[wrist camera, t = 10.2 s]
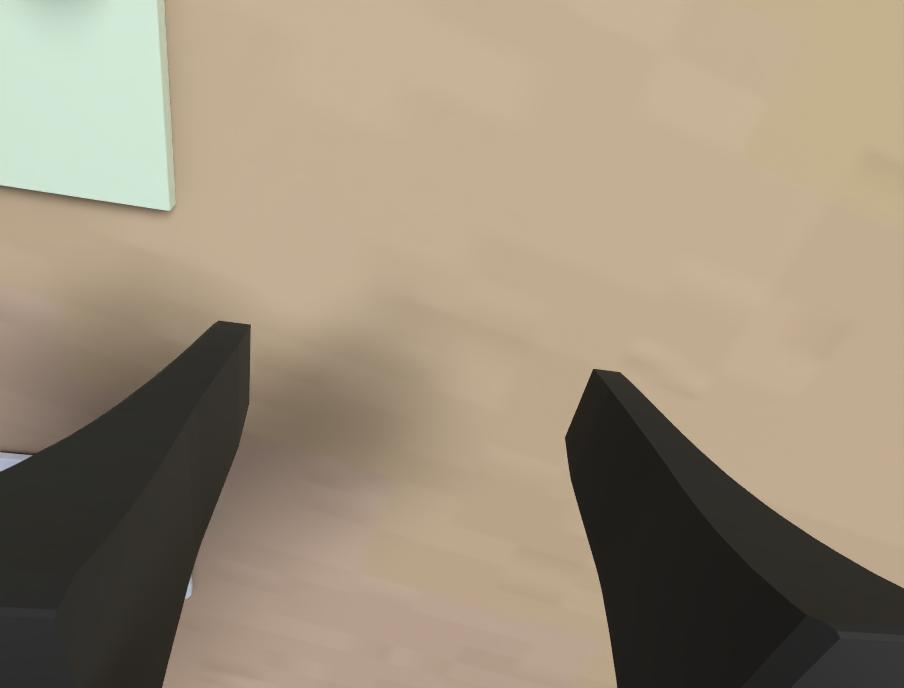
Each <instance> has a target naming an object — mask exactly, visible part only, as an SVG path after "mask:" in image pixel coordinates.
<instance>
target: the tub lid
mask: <svg viewBox="0 0 904 688" xmlns="http://www.w3.org/2000/svg"><path fill="white" fill-rule="evenodd" d="M0 185H3V186H10V187H16V188H23V189H29V190H36V191H42V192H49V193H55V194H62V195H68V196H75V197H81V198H88V199H94V200H101V201H108V202H114V203H121V204H127V205H134V206H140V207H147V208H153V209H160V210H166V211H170V210H171V209H172V208H173V206H174V205H175V204H176V201H175V183H174V165H173V148H172V130H171V112H170V94H169V77H168V59H167V41H166V23H165V5H164V0H0Z"/></svg>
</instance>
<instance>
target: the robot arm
mask: <svg viewBox="0 0 904 688" xmlns="http://www.w3.org/2000/svg"><path fill="white" fill-rule="evenodd" d="M250 328H251V325H248V324H241V323H233V322H225V321H218V322H216V323H215V324H213V325H212V326H211V327H210V328H209V329H208V330H207V331H206V332H205V333H204V334H203V335H201V336H200V337H199V338H198V339H197V340H196V341H195V342H194V343H193V344H192V345H191V346H190V347H189V348H187V349H186V350H185V351H184V352H183V353H182V354H181V355H180V356H178V357H177V358H176V359H175V360H174V361H173V362H171V363H170V364H169V365H168V366H167V367H166V368H164V369H163V370H162V371H161V372H160V373H158V374H157V375H156V376H155V377H154V378H152V379H151V380H150V381H149V382H147V383H146V384H145V385H143V386H142V387H141V388H139V389H138V390H137V391H135V392H134V393H133V394H131V395H130V396H129V397H127V398H126V399H125V400H123V401H122V402H121V403H119V404H118V405H117V406H115V407H114V408H112V409H111V410H109V411H108V412H106V413H105V414H104V415H102V416H101V417H99V418H98V419H96V420H94V421H93V422H91V423H90V424H88V425H87V426H85V427H83V428H82V429H80V430H78V431H77V432H75V433H74V434H72V435H70V436H68V437H67V438H65V439H63V440H61V441H59V442H57V443H56V444H54V445H52V446H50V447H48V448H46V449H44V450H42V451H40V452H38V453H36V454H35V455H24V454H13V453H2V452H0V688H162V685H163V681H164V677H165V673H166V669H167V665H168V661H169V657H170V653H171V649H172V646H173V642H174V638H175V634H176V630H177V626H178V622H179V619H180V615H181V611H182V607H183V603H184V600H185V599H187V598H189V597H190V596H191V593H192V590H193V585H192V570H193V567H194V563H195V560H196V557H197V554H198V551H199V548H200V545H201V542H202V539H203V537H204V534H205V532H206V529H207V526H208V524H209V521H210V519H211V516H212V514H213V511H214V508H215V506H216V503H217V501H218V498H219V496H220V493H221V490H222V488H223V485H224V483H225V480H226V478H227V475H228V472H229V470H230V467H231V465H232V462H233V459H234V457H235V454H236V451H237V449H238V446H239V442H240V438H241V434H242V430H243V426H244V422H245V418H246V414H247V410H248V405H249V381H250ZM565 441H566V449H567V457H568V464H569V471H570V477H571V481H572V485H573V489H574V492H575V496H576V500H577V503H578V507H579V510H580V514H581V517H582V520H583V524H584V527H585V531H586V534H587V538H588V541H589V544H590V548H591V551H592V555H593V558H594V562H595V565H596V568H597V572H598V576H599V580H600V585H601V589H602V594H603V599H604V605H605V611H606V616H607V622H608V628H609V633H610V640H611V647H612V653H613V660H614V667H615V673H616V680H617V688H904V588H902V587H900V586H898V585H896V584H894V583H892V582H890V581H888V580H886V579H884V578H882V577H880V576H878V575H876V574H875V573H873V572H871V571H869V570H867V569H866V568H864V567H862V566H860V565H859V564H857V563H855V562H853V561H852V560H850V559H848V558H846V557H845V556H843V555H841V554H839V553H838V552H836V551H834V550H833V549H831V548H830V547H828V546H826V545H825V544H823V543H821V542H820V541H818V540H817V539H815V538H813V537H812V536H810V535H809V534H807V533H806V532H804V531H803V530H801V529H800V528H798V527H797V526H795V525H794V524H792V523H791V522H789V521H788V520H786V519H785V518H783V517H782V516H781V515H779V514H778V513H776V512H775V511H774V510H772V509H771V508H769V507H768V506H767V505H765V504H764V503H763V502H761V501H760V500H759V499H757V498H756V497H755V496H754V495H752V494H751V493H750V492H748V491H747V490H746V489H745V488H743V487H742V486H741V485H739V484H738V483H737V482H736V481H734V480H733V479H732V478H731V477H730V476H728V475H727V474H726V473H725V472H724V471H723V470H721V469H720V468H719V467H718V466H717V465H716V464H715V463H714V462H712V461H711V460H710V459H709V458H708V457H707V456H706V455H705V454H703V453H702V452H701V451H700V450H699V449H698V448H697V447H696V446H695V445H694V444H693V443H692V442H691V441H689V440H688V439H687V438H686V437H685V436H684V435H683V434H682V433H681V432H680V431H679V430H678V429H677V428H676V427H675V426H674V425H673V424H672V423H671V422H670V421H669V420H668V419H667V418H666V417H665V416H664V415H663V414H662V413H661V412H660V411H659V410H658V409H657V408H656V407H655V406H654V405H653V404H652V403H651V402H650V401H649V400H648V399H647V398H646V397H645V396H644V395H643V394H642V393H641V392H640V391H639V390H638V389H637V388H636V387H635V386H634V385H633V384H632V383H631V382H630V381H629V380H628V379H627V378H626V377H625V376H624V375H622V374H621V373H620V372H614V371H606V370H598V369H593V371H592V373H591V376H590V378H589V381H588V383H587V386H586V388H585V390H584V393H583V395H582V398H581V400H580V403H579V405H578V407H577V410H576V412H575V415H574V417H573V420H572V422H571V424H570V427H569V429H568V432H567V434H566V437H565Z"/></svg>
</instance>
